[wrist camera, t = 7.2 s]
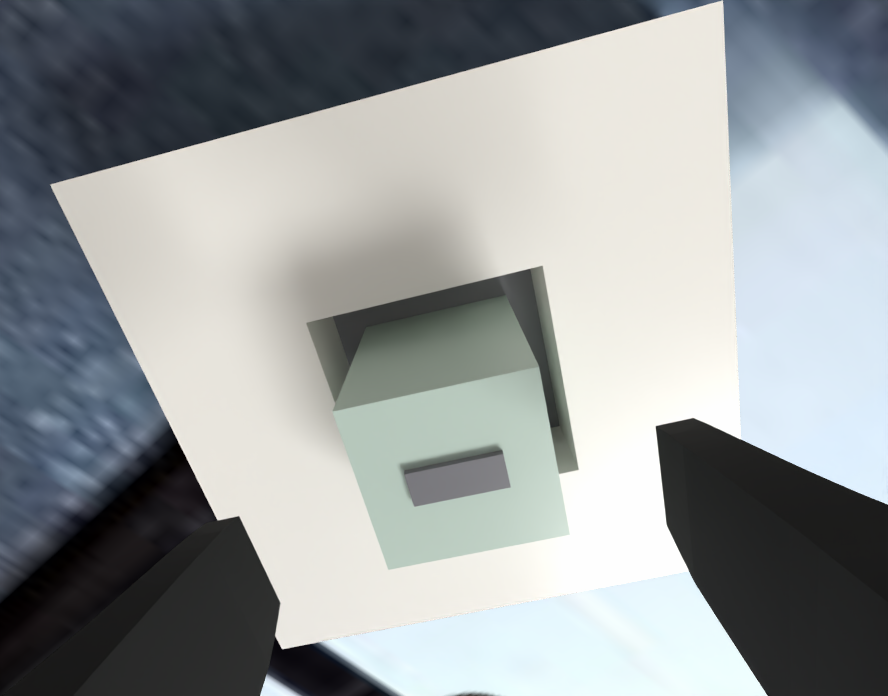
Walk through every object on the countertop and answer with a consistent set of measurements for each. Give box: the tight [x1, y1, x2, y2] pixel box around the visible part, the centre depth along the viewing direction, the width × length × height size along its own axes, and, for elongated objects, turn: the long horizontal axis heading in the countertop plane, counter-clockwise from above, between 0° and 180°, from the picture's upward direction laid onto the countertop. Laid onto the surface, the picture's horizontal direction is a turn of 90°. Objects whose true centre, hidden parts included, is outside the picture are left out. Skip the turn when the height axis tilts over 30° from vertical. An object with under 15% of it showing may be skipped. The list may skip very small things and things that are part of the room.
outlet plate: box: [50, 1, 741, 649], centre depth 14 cm, size 14×14×2 cm
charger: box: [332, 295, 570, 570], centre depth 13 cm, size 4×4×5 cm
